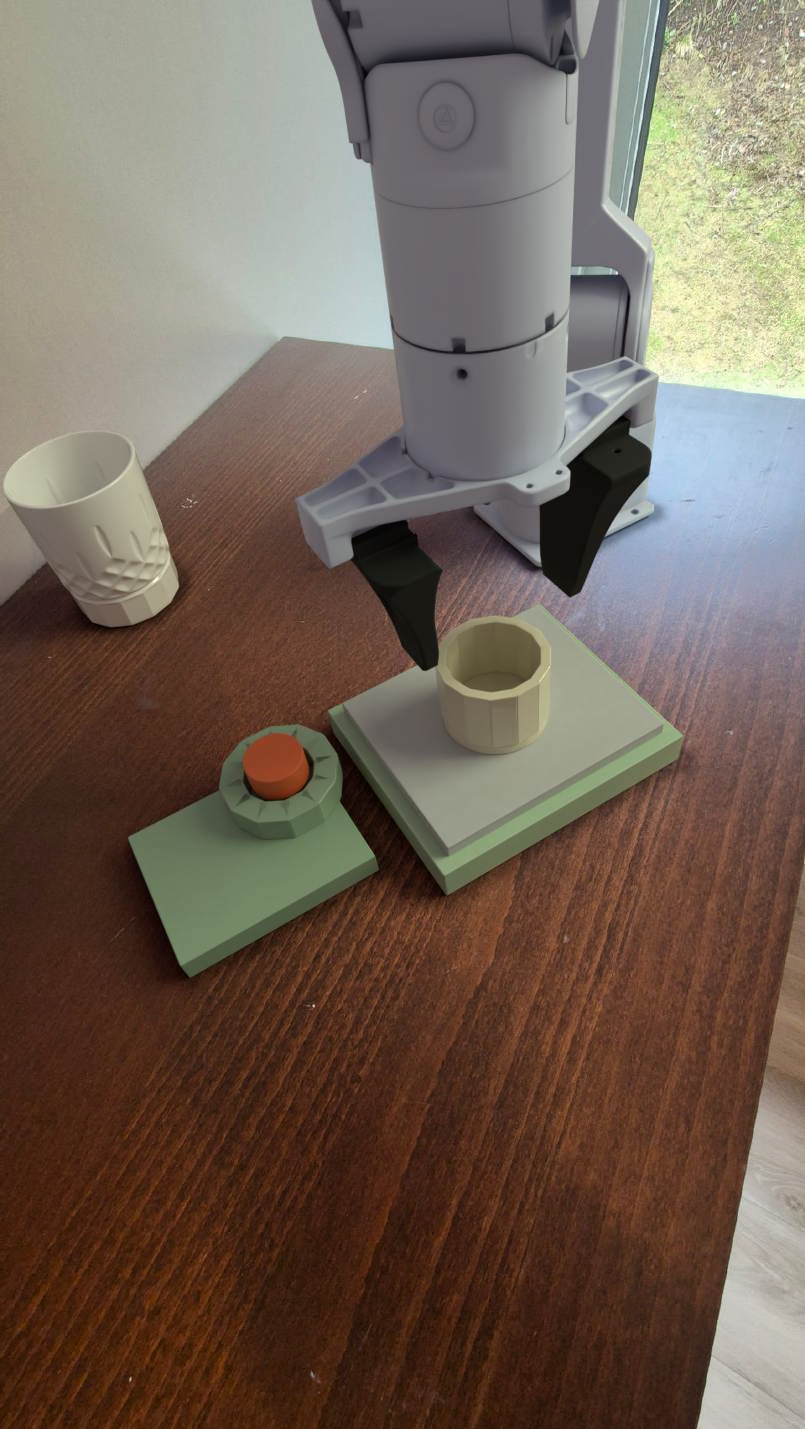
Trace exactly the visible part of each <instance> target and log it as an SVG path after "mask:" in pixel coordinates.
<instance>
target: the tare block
mask: <svg viewBox="0 0 805 1429" xmlns="http://www.w3.org/2000/svg"><path fill="white" fill-rule="evenodd" d="M274 733H283V734H288V735H290V736H292V737H294V738H295V739H297V740H298V741H299V742H300V744H301V746H302V748H303V751H304V754H305V757H306V760H307V762H308V765H309V776H308V779H307V781H306V783H305V785H304V786H303V787H302V789H300V790H299V791H298V792H297V793H296V794H294V795H292V796H290V797H288V798H285V799H280V800H269V799H265V798H263V797H261V796H259V795H258V794H256V793H255V791H254V790H253V789H252V786H251V784H250V782H249V780H248V778H247V775H246V773H245V771H244V768H243V757H244V754H245V752H246V750H247V749H248V747H249V746H250V745H251V744H252V743H253V742H254V741H256V740H257V739H259V738H261V737H263V736H266V735H269V734H274ZM343 776H344V773H343V769H342V765H341V762H340V758H339V755H338V753H337V751H336V750H335V749H334V747H333V746H332V744H331V743H330V741H329V740H328V739H327V736H326V735H324V734H323V733H321V732H319V731H316V730H314V729H311V728H310V727H306V726H303V725H301V724H285V725H273V726H267V727H266V728H264V729H262V730H260V731H258V732H256V733H254V734H252V735H250V736H247V737H246V738H244V739H242V740H241V741H240V742H239V743H238V744H237V745H236V747H234V749H233V750H232V751H231V753H229V755H228V756H227V757H226V759H225V760H224V761H223V763H222V767H221V773H220V779H219V783H218V784H219V785H218V790H217V791H214V792H213V793H211V794H209V795H206V796H204V797H202V798H201V799H199V800H197V801H196V802H194V803H192V804H189V805H187V806H186V807H183V808H182V809H180V810H178V811H176V812H174V813H172V814H170V815H168V816H167V817H165V818H162V819H160V820H158V821H156V822H154V823H153V824H151V825H149V826H147V827H145V828H142V829H141V830H139V831H136V832H135V833H133V834H131V835H129V836H127V840H128V843H129V845H130V848H131V850H132V853H133V855H134V857H135V860H136V862H137V866H138V867H139V870H140V872H141V874H142V877H143V879H144V882H145V884H146V887H147V889H148V891H149V894H150V896H151V900H152V901H153V904H154V906H155V909H156V911H157V913H158V916H159V918H160V921H161V923H162V926H163V928H164V930H165V933H166V935H167V938H168V940H169V943H170V945H171V948H172V950H173V953H174V954H175V958H176V960H177V963H178V965H179V967H180V968H181V969H182V970H183V972H184V973H185V975H187V977H188V978H192V977H194V976H196V975H197V974H200V973H201V972H203V971H205V970H206V969H208V968H210V967H212V966H213V965H215V964H217V963H219V962H220V961H223V960H224V959H226V958H228V957H229V956H231V955H233V954H234V953H236V952H238V951H240V950H241V949H243V948H245V947H246V946H247V947H248V946H249V945H251V944H252V943H254V942H256V941H257V940H259V939H261V938H263V937H264V936H266V935H268V934H270V933H271V932H273V931H275V930H276V929H279V928H280V927H282V926H284V925H285V924H287V923H289V922H290V921H292V920H294V919H296V918H298V917H299V916H301V915H303V914H305V913H307V912H308V911H310V910H312V909H314V908H315V907H318V906H319V905H320V904H322V903H324V902H325V901H327V900H329V899H331V898H333V897H334V896H336V895H338V894H340V893H341V892H343V891H345V890H347V889H349V888H350V887H352V886H353V885H355V884H357V883H359V882H361V881H362V880H364V879H366V878H368V877H370V876H371V875H373V874H375V873H377V872H378V871H379V870H380V869H379V864H378V862H377V858H376V855H375V854H374V852H373V850H372V849H371V847H370V846H369V845H368V844H369V843H367V841H366V840H365V838H364V836H363V835H362V834H361V831H360V830H359V829H358V827H357V826H356V825H355V823H354V821H353V820H352V818H351V817H350V815H349V813H348V812H347V809H345V808H344V805H342V802H341V798H342V797H343V796H342V793H343Z"/></svg>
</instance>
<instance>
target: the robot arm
mask: <svg viewBox="0 0 805 1429" xmlns="http://www.w3.org/2000/svg"><path fill="white" fill-rule="evenodd" d="M310 2H311V6H312V10H313V13H314V14H313V15H314V17H315V22H316V24H317V28H318V32H319V34H320V37H321V40H322V43H323V46H324V48H325V50H326V53H327V55H328V58H329V60H330V62H331V64H332V67H333V69H334V72H335V74H336V78H337V82H338V85H339V89H340V93H341V98H342V104H343V111H344V116H345V117H344V118H345V123H346V129H347V131H346V132H347V139H348V143H349V144H352V148H353V154H354V157H355V159H356V160H359V161H360V160H362V161H363V162H364V163H365V164H369V166H370V173H371V180H372V182H371V183H372V189H373V191H372V192H373V197H374V204H375V213H376V221H377V229H378V230H377V231H378V237H379V244H380V252H381V259H382V268H383V276H384V284H385V292H386V297H387V298H386V299H387V307H388V314H389V316H388V317H389V323H390V330H391V337H392V346H393V353H394V360H395V368H396V377H397V382H398V391H399V392H398V393H399V400H400V407H401V414H402V422H403V425H401V426H400V427H399V428H398V429H395V431H394V432H392V433H391V434H390V435H389V436H387V437H386V438H384V439H383V440H381V442H379V443H378V444H376V445H375V446H374V447H373V448H371V449H370V450H369V451H368V452H366V453H365V454H364V455H362V456H361V457H360V458H358V459H357V460H356V461H354V462H353V463H352V464H350V465H349V466H348V467H346V468H344V470H342V471H341V472H339V473H338V474H337V475H335V476H334V477H332V478H331V479H329V480H328V481H326V482H325V483H323V484H321V485H320V486H318V487H316V488H314V489H312V490H310V491H307V492H306V493H304V494H302V495H300V496H297V497H296V498H295V499H294V501H295V505H296V509H297V513H298V516H299V521H300V524H301V525H300V526H301V528H302V532H303V536H304V540H305V543H306V544H307V545H308V547H309V548H310V549H311V550H312V551H313V552H314V554H315V555H316V556H317V558H318V559H319V560H321V562H322V563H323V564H324V565H325V567H327V569H333V568H335V567H338V566H340V565H342V564H343V563H346V562H348V561H351V563H352V564H353V565H354V566H355V568H356V569H357V570H358V571H359V572H360V574H361V575H362V576H363V578H364V579H365V580H366V582H367V583H368V585H369V586H370V588H372V590H373V592H374V593H375V595H376V596H377V598H378V599H379V601H380V603H381V604H382V606H383V608H384V609H385V612H386V614H387V616H388V617H389V619H390V621H391V623H392V626H393V628H394V630H395V632H396V635H397V637H398V640H399V643H400V644H401V645H400V646H401V648H402V649H403V650H404V651H405V652H406V654H408V656H409V657H410V658H411V659H412V661H413V662H414V663H415V664H416V665H418V666H419V667H420V669H421V670H422V671H428V670H430V669H431V668H433V667H435V666H437V665H438V660H439V648H438V645H439V640H438V633H437V627H436V617H435V616H436V602H437V592H438V587H439V583H440V580H441V576H442V573H443V571H444V569H443V568H441V566H440V565H439V564H437V562H436V561H435V560H434V559H433V558H432V557H431V556H430V555H429V554H428V553H427V552H425V550H424V549H423V548H422V547H421V546H420V543H419V536H418V534H417V533H416V532H415V533H414V532H413V531H412V530H411V529H410V527H409V521H410V520H412V519H414V518H415V519H416V518H420V517H425V516H430V515H434V514H441V513H445V512H449V511H455V510H459V509H464V508H468V507H473V512H474V513H475V514H476V515H477V516H478V517H479V518H481V519H482V520H483V521H484V522H485V523H487V525H489V526H490V528H492V529H493V530H494V531H495V532H496V533H498V534H499V535H500V536H501V537H503V538H504V539H505V540H506V541H507V542H508V543H510V545H512V546H513V548H515V549H516V550H518V551H519V552H520V553H521V554H522V555H523V556H524V557H525V558H527V559H528V560H529V561H530V562H531V563H532V564H533V565H534V566H536V567H537V568H541V572H542V575H543V576H544V577H545V578H547V580H549V581H550V582H551V583H552V584H553V585H554V586H556V588H558V589H559V590H560V591H561V592H562V593H564V595H566V596H567V597H568V598H569V599H570V598H573V597H574V596H576V595H578V594H580V593H581V592H582V590H583V588H584V586H585V583H586V580H587V579H588V576H589V573H590V571H591V569H592V567H593V564H594V561H595V559H596V557H597V554H598V552H599V550H600V548H601V545H602V543H603V541H604V539H605V538H606V537H607V536H610V535H611V534H614V533H616V532H618V531H620V530H622V529H624V528H626V527H628V526H630V525H633V524H634V523H636V522H638V521H640V520H642V519H644V518H646V517H648V516H650V515H652V514H654V511H655V504H654V503H652V502H651V501H649V500H648V499H647V498H648V489H649V483H650V474H651V473H650V472H651V466H652V458H653V451H654V443H655V438H656V437H655V436H656V428H657V413H656V402H657V395H658V387H659V380H660V375H659V374H658V373H657V372H654V371H653V370H652V369H650V368H648V367H645V365H646V359H647V358H646V357H647V351H648V342H649V334H650V328H651V316H652V309H653V300H654V289H655V283H654V281H653V278H654V269H655V260H656V250H655V249H654V248H653V247H652V239H651V236H650V235H649V234H648V233H647V232H646V231H645V230H644V229H643V228H642V227H641V226H639V225H638V224H637V223H636V222H635V221H634V220H633V219H632V218H630V216H628V215H627V214H626V213H625V212H624V211H622V210H621V209H620V208H619V207H618V206H617V205H616V204H615V203H614V202H613V201H612V199H611V198H610V188H611V177H612V176H611V175H612V167H613V166H612V164H613V156H614V143H615V132H616V121H617V109H618V100H619V98H618V97H619V89H620V88H619V87H620V76H621V67H622V66H621V65H622V53H623V43H624V33H625V32H624V31H625V22H626V8H627V0H310ZM578 267H579V268H581V267H582V268H583V267H584V268H585V267H589V268H590V267H591V268H592V267H601V268H605V269H606V268H607V269H612V270H614V271H615V272H617V274H616V273H615V274H614V273H613V274H610V273H609V274H571V273H572V272H571V271H572V268H578Z"/></svg>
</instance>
